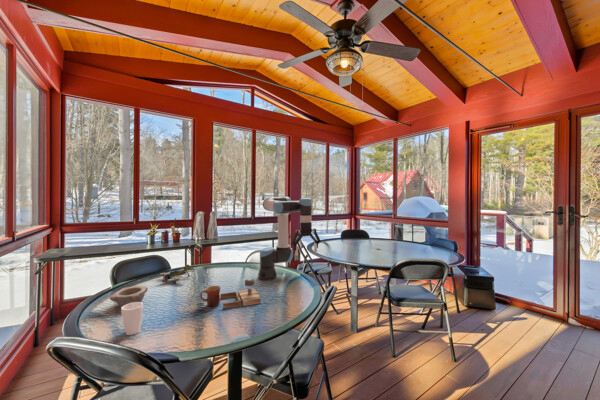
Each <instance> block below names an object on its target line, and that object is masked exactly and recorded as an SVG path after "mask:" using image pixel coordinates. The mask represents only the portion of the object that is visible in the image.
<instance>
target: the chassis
mask: <svg viewBox="0 0 600 400" xmlns="http://www.w3.org/2000/svg"><path fill="white" fill-rule="evenodd" d="M229 298H235V299H236V301H229V302H223V303H222V308H223V310H225V309H232V308H237V307H238V308H239V307H242V306H243V307H245V306H250V305H251V306H253V305H257V304H261V303H262V300H261V299H262V298H261V296H260V295H259V293H258V292H257V290H256V289H255V288H247V289H242V290H238V291H231V292H225V293H220V300H223V299H229Z"/></svg>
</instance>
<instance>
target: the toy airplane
mask: <svg viewBox="0 0 600 400" xmlns="http://www.w3.org/2000/svg"><path fill="white" fill-rule="evenodd" d="M193 272H194V270H193V268H192V267H191V265H190V264H186V265H185V267H184V268H181V269H180V270H176V269H175V270H171V271H170V272H160V273H159V275H161V276H162V278H161V279H162V283H163V282H165V283H168V281H169V280H172V279H173V280H174V281H173V284H177V280H179V281H185V280H186V279H187V278H186V277H185V276H184V277H183V275H186V276H187V277H190V273H193Z"/></svg>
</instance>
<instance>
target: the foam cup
mask: <svg viewBox="0 0 600 400" xmlns="http://www.w3.org/2000/svg"><path fill="white" fill-rule="evenodd" d="M143 312H144V303H143V302H142V301H141V302H134V303H129V304H126V305H124V306H122V307H120V313H121V316H122V320H123V322H122V323H123V326H124V332H125V335H127V336H133V335H135V334H138V333H140V331H141V329H142V323H143V322H142V321H143V320H142V319H143Z"/></svg>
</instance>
